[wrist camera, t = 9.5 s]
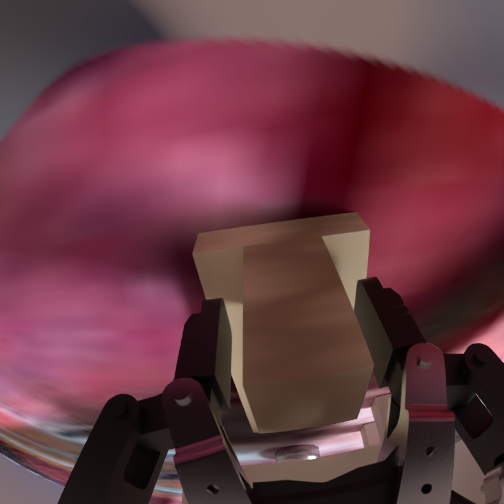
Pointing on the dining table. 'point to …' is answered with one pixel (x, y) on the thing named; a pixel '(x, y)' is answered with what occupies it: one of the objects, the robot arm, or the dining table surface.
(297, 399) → the stepped wooden block
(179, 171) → the dining table surface
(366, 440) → the notched block
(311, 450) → the puck
